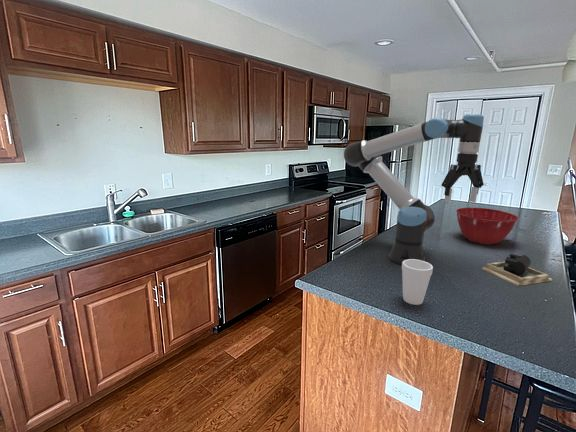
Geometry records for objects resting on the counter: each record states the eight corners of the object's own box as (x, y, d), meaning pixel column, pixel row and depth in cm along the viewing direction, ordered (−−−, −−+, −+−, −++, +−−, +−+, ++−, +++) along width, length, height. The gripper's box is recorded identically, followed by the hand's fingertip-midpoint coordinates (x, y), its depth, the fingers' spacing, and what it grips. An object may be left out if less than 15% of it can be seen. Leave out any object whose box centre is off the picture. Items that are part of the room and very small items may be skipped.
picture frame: (517, 286, 120) (518, 280, 119) (481, 269, 135) (482, 263, 134) (552, 280, 125) (553, 275, 124) (513, 265, 140) (515, 259, 139)
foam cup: (420, 293, 113) (425, 259, 110) (432, 307, 104) (438, 270, 101) (394, 293, 112) (398, 259, 109) (404, 307, 104) (409, 270, 100)
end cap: (523, 278, 124) (527, 262, 122) (502, 273, 129) (505, 257, 127) (528, 271, 131) (532, 256, 129) (508, 266, 136) (511, 251, 134)
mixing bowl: (508, 254, 153) (515, 223, 150) (445, 240, 171) (450, 213, 168) (515, 240, 174) (521, 213, 170) (459, 229, 192) (463, 205, 188)
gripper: (450, 153, 126) (442, 205, 131) (498, 153, 133) (489, 203, 138) (436, 152, 133) (430, 201, 138) (483, 152, 140) (475, 199, 145)
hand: (459, 202), depth 138 cm, fingers open, 13 cm apart
